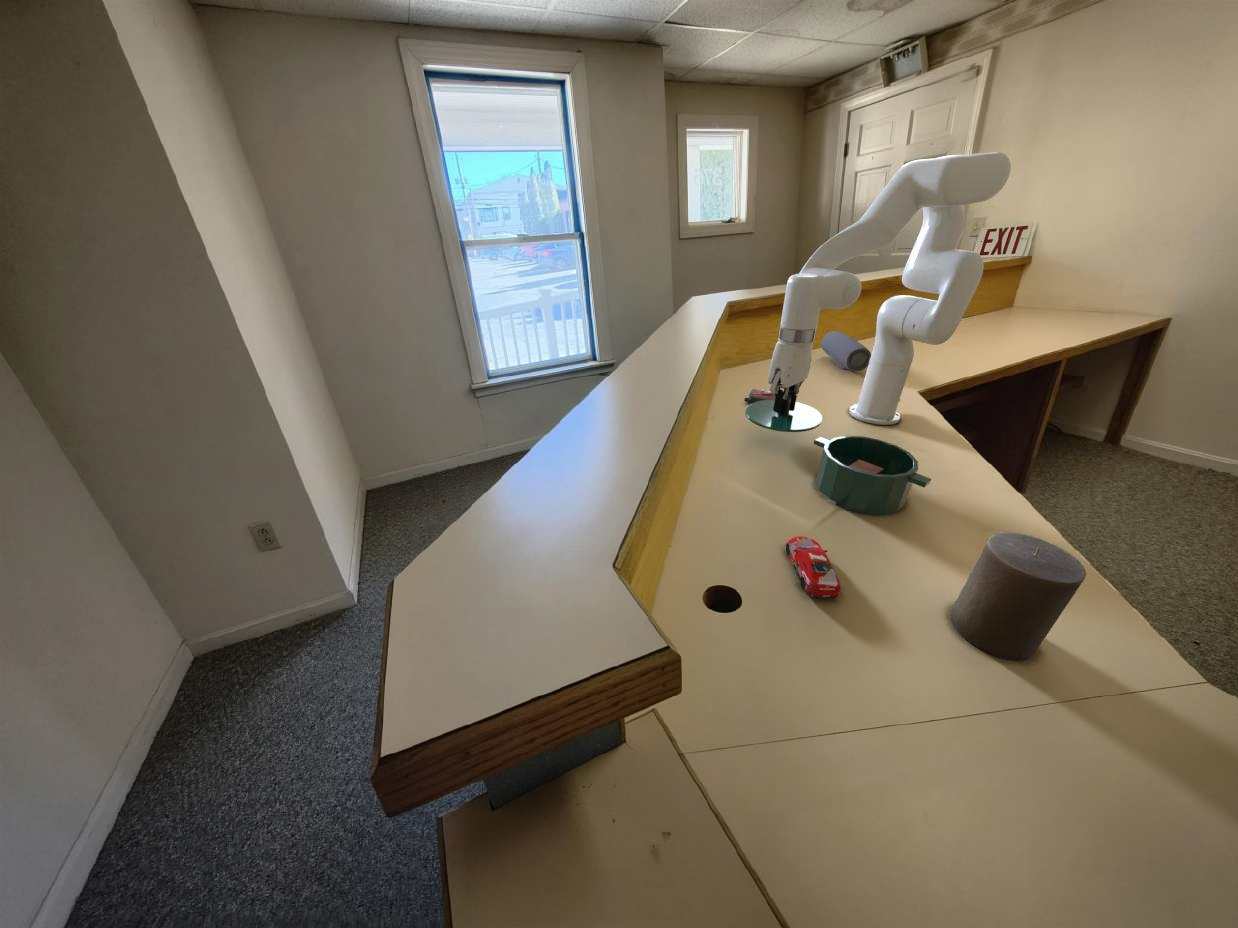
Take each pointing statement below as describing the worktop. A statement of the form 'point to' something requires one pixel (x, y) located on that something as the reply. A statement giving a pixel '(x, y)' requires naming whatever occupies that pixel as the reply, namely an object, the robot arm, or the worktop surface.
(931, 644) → the worktop surface
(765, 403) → the lid
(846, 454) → the pot
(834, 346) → the bluetooth speaker
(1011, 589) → the pillar candle
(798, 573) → the race car
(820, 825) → the worktop surface
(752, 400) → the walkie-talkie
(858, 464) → the block
